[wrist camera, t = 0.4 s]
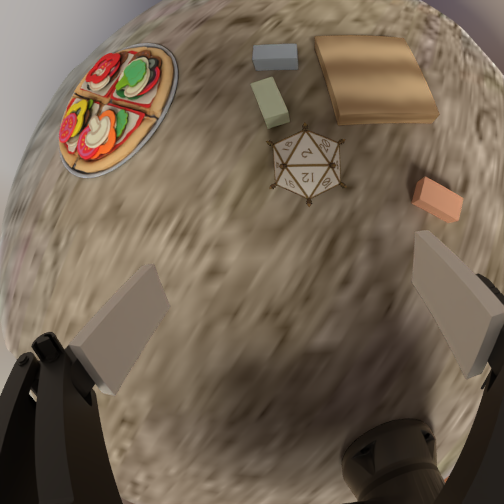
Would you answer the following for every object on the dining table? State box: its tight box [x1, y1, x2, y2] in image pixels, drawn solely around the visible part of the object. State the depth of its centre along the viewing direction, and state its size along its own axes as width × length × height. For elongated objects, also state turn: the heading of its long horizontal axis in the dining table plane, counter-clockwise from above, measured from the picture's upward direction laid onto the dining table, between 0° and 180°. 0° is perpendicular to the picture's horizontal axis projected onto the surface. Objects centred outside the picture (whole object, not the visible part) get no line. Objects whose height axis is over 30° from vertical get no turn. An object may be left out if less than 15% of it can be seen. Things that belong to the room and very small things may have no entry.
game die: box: [266, 123, 347, 207], centre depth 27 cm, size 9×8×10 cm
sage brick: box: [250, 77, 290, 129], centre depth 31 cm, size 6×3×3 cm, turn 17°
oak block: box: [315, 35, 440, 126], centre depth 28 cm, size 14×14×3 cm
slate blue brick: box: [252, 44, 298, 71], centre depth 31 cm, size 6×3×3 cm, turn 86°
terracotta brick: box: [411, 177, 463, 223], centre depth 27 cm, size 6×3×3 cm, turn 68°
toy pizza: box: [59, 43, 178, 178], centre depth 36 cm, size 28×28×4 cm
